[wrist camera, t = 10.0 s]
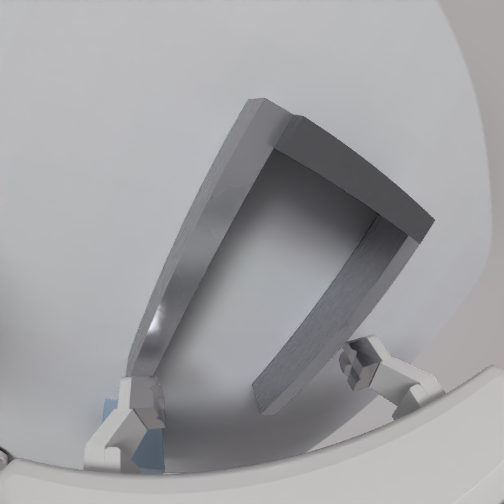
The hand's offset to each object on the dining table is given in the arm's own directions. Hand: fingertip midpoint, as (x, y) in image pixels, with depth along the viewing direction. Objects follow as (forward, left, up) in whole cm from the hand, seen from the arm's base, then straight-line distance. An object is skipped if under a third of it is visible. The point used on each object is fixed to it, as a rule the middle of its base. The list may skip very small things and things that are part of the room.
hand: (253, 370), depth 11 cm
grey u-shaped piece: (+2, 0, -3) cm, 4 cm away
